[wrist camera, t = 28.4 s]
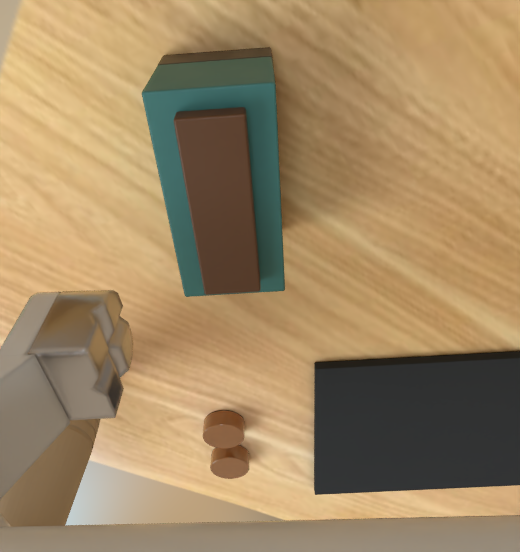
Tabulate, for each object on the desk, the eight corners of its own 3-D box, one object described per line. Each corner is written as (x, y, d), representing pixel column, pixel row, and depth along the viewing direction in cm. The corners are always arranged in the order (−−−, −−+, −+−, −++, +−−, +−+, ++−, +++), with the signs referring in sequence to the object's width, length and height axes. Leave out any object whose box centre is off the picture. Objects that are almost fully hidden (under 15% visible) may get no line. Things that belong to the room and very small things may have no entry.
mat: (688, 341, 31) (695, 348, 30) (598, 474, 41) (602, 481, 40) (314, 362, 32) (315, 369, 31) (314, 488, 41) (314, 494, 41)
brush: (270, 46, 20) (276, 89, 15) (279, 231, 25) (286, 303, 21) (163, 55, 20) (136, 100, 15) (195, 236, 25) (182, 309, 21)
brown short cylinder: (243, 409, 35) (243, 423, 34) (245, 434, 36) (245, 448, 35) (202, 410, 35) (200, 425, 34) (206, 435, 36) (204, 449, 35)
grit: (246, 442, 37) (245, 456, 36) (251, 463, 39) (251, 477, 38) (208, 445, 37) (206, 459, 36) (215, 466, 39) (214, 480, 38)
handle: (38, 383, 32) (-85, 657, 21) (59, 320, 29) (-75, 608, 17) (108, 402, 34) (30, 670, 22) (136, 345, 30) (61, 627, 19)
